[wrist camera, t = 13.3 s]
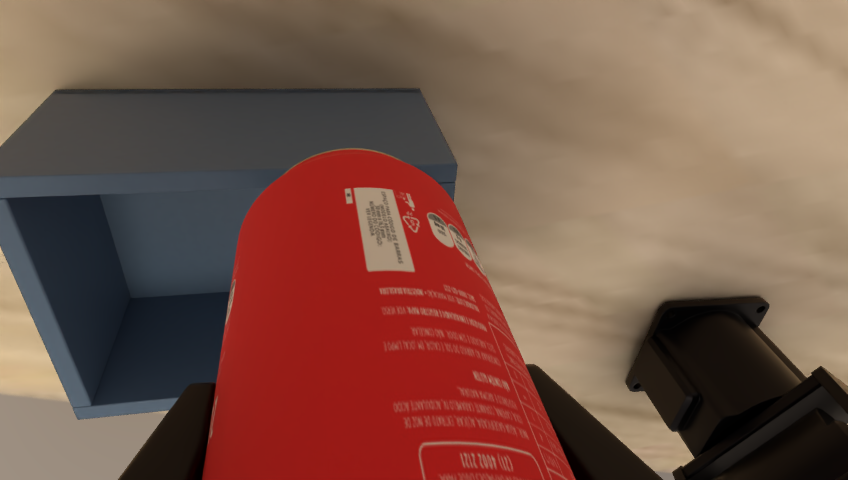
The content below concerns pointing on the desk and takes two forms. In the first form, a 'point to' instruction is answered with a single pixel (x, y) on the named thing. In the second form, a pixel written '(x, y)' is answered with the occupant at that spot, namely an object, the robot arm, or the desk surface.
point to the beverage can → (369, 339)
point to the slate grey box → (166, 218)
